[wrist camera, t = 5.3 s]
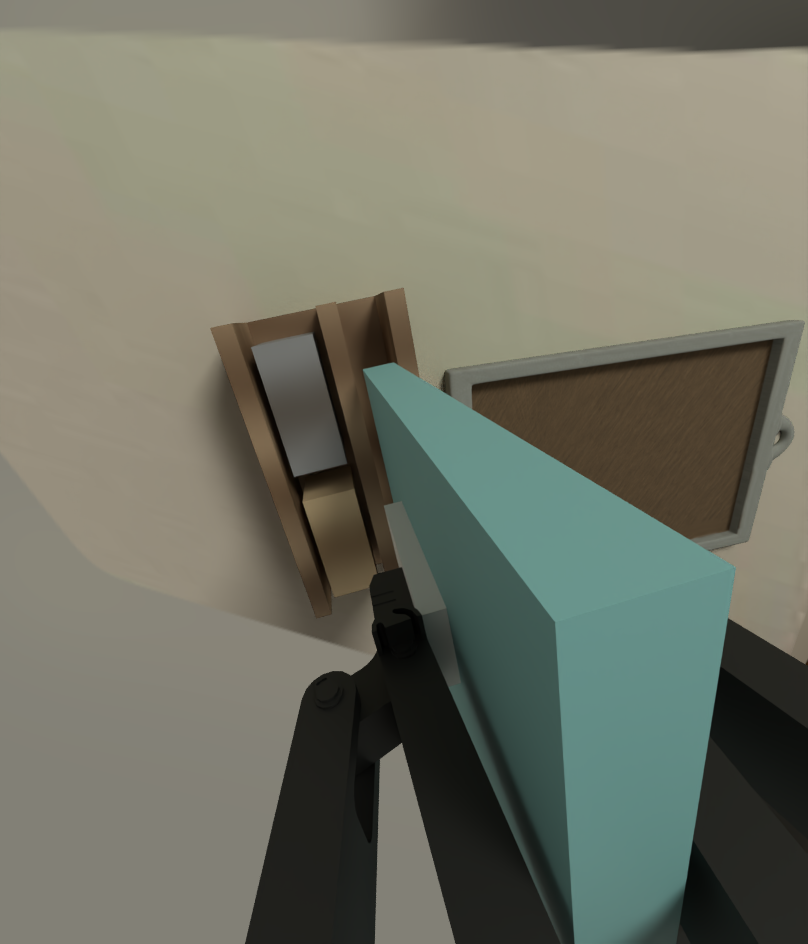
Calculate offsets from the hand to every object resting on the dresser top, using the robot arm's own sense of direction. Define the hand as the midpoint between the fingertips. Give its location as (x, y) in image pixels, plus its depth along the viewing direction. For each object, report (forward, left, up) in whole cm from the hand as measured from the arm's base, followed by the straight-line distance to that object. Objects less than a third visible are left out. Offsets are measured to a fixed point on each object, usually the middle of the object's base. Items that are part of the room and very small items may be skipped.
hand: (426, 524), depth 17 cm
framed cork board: (-7, -19, -13) cm, 24 cm away
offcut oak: (-4, +4, -11) cm, 12 cm away
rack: (0, +3, -12) cm, 12 cm away
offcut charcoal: (+5, +4, -11) cm, 13 cm away
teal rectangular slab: (0, 0, -6) cm, 6 cm away
